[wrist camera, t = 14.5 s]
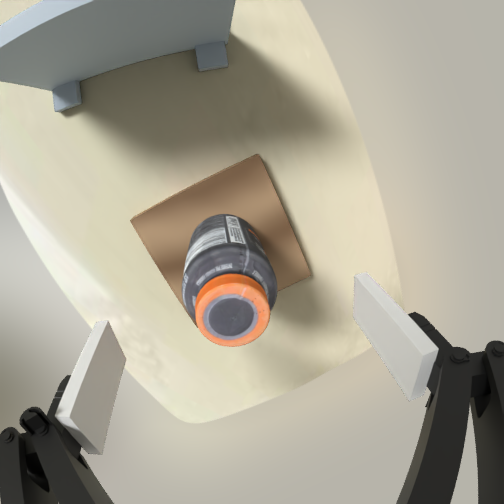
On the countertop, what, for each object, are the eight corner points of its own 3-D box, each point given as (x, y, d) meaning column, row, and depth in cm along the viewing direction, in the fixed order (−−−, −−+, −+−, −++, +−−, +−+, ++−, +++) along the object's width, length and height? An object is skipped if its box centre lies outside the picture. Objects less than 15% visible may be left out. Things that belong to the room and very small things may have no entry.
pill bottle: (260, 274, 28) (288, 355, 17) (194, 281, 27) (187, 367, 17) (256, 209, 25) (288, 261, 15) (185, 216, 25) (166, 274, 14)
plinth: (133, 217, 25) (130, 220, 24) (257, 153, 25) (258, 154, 24) (197, 320, 30) (197, 327, 29) (307, 270, 29) (311, 275, 28)
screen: (57, 113, 21) (-39, 109, 9) (52, 56, 19) (-35, 24, 7) (231, 66, 22) (249, 3, 10) (221, 8, 20) (231, -79, 8)
